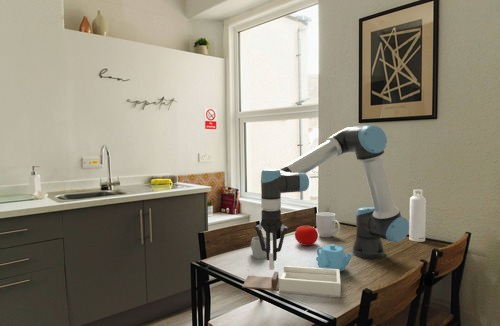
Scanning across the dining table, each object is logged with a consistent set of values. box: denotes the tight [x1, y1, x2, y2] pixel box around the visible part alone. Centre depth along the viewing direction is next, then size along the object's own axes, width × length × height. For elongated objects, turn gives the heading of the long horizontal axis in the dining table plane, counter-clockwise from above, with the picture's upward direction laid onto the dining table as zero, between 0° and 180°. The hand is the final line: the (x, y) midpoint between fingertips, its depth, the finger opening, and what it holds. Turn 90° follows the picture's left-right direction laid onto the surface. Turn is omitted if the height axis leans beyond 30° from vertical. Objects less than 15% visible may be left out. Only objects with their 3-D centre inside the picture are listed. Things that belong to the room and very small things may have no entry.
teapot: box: [316, 243, 354, 272], centre depth 150 cm, size 15×14×11 cm
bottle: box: [408, 188, 427, 243], centre depth 194 cm, size 8×8×28 cm
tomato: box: [294, 224, 319, 246], centre depth 188 cm, size 11×12×10 cm
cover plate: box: [241, 271, 280, 291], centre depth 138 cm, size 14×11×4 cm
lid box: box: [278, 265, 342, 298], centre depth 134 cm, size 22×14×5 cm, turn 77°
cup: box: [250, 236, 267, 260], centre depth 171 cm, size 7×10×9 cm
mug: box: [315, 211, 341, 238], centre depth 203 cm, size 15×11×13 cm
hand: (271, 268), depth 137 cm, fingers closed
